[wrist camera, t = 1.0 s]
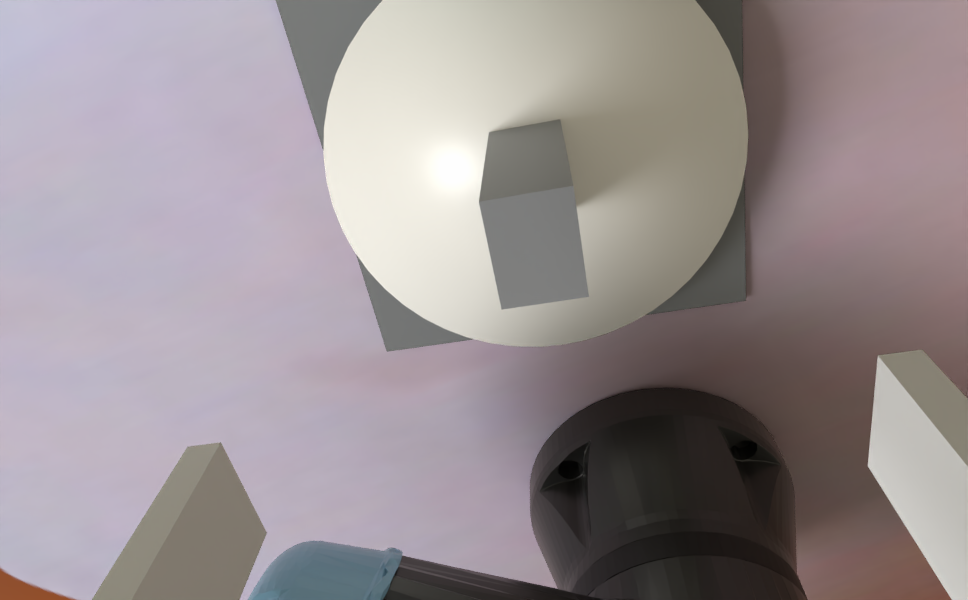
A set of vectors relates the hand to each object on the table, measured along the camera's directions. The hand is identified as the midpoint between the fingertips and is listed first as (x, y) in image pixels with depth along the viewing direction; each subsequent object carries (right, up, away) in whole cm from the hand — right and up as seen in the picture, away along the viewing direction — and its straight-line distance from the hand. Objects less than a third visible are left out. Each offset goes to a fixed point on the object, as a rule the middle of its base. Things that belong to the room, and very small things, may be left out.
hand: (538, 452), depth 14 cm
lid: (+1, +10, +18) cm, 20 cm away
